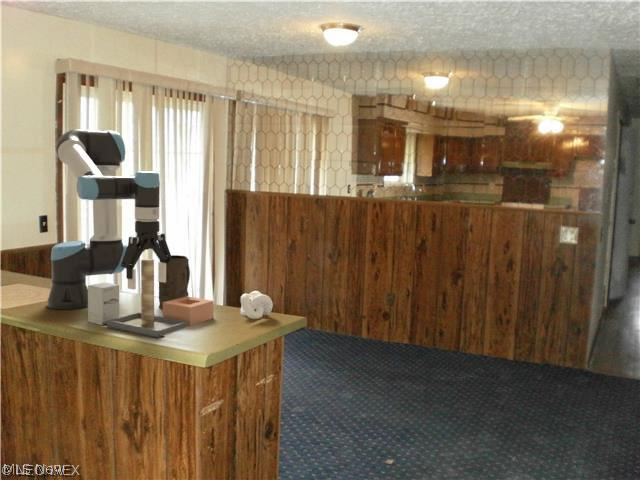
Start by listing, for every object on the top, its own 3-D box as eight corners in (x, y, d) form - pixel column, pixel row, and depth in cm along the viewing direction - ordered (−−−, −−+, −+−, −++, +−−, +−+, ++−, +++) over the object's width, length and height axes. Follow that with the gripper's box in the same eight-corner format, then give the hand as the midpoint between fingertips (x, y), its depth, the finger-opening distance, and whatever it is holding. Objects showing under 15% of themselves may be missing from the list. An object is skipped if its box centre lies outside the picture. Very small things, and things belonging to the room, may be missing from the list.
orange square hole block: (162, 322, 214) (162, 302, 213) (186, 315, 225) (186, 296, 224) (190, 328, 208) (190, 307, 208) (213, 320, 219) (213, 300, 218)
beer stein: (180, 313, 227) (182, 258, 225) (152, 311, 229) (154, 256, 227) (197, 307, 242) (198, 255, 240) (170, 305, 244) (172, 253, 243)
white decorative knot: (260, 324, 216) (260, 298, 215) (230, 319, 221) (230, 294, 220) (275, 317, 227) (276, 292, 226) (246, 312, 232) (246, 288, 230)
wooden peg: (138, 326, 206) (138, 260, 203) (147, 324, 209) (147, 258, 207) (148, 328, 204) (147, 261, 201) (156, 326, 207) (156, 259, 205)
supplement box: (102, 325, 209) (101, 287, 207) (87, 321, 212) (86, 284, 211) (120, 321, 215) (119, 284, 213) (105, 317, 219) (105, 281, 217)
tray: (107, 327, 206) (107, 320, 206) (138, 319, 218) (138, 311, 218) (157, 338, 195) (157, 330, 195) (188, 328, 208) (188, 321, 207)
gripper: (126, 224, 190) (126, 293, 192) (182, 218, 211) (182, 280, 214) (108, 222, 193) (109, 290, 196) (165, 216, 215) (165, 277, 218)
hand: (147, 285), depth 205 cm, fingers open, 13 cm apart
